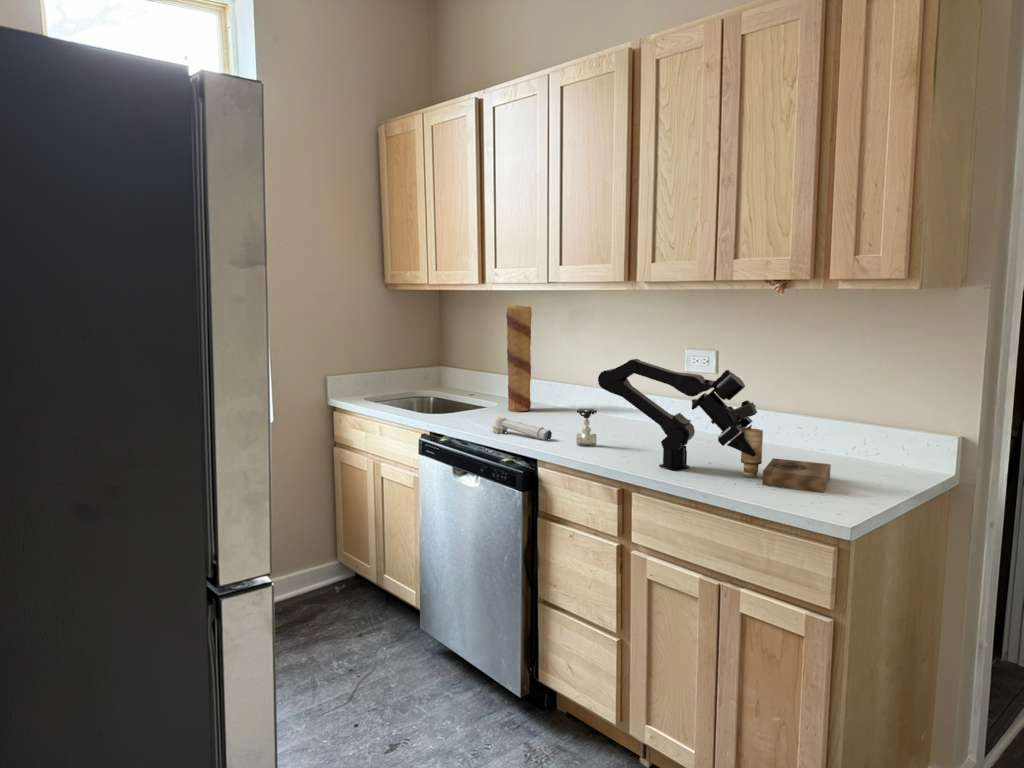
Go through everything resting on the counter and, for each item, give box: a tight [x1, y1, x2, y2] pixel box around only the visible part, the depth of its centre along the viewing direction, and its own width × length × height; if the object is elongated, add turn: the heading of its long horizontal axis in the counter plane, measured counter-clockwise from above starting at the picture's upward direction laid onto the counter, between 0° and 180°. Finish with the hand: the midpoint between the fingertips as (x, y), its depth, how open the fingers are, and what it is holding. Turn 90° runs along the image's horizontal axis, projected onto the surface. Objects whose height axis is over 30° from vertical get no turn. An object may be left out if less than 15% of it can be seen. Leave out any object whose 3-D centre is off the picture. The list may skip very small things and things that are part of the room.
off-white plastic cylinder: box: [491, 415, 553, 441], centre depth 256 cm, size 5×7×25 cm
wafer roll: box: [505, 305, 533, 413], centre depth 309 cm, size 10×11×45 cm
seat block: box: [761, 457, 832, 493], centre depth 194 cm, size 15×16×4 cm
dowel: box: [740, 428, 764, 478], centre depth 199 cm, size 5×5×13 cm
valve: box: [575, 407, 598, 446], centre depth 240 cm, size 7×7×12 cm
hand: (756, 453), depth 198 cm, fingers closed on dowel, 5 cm apart
